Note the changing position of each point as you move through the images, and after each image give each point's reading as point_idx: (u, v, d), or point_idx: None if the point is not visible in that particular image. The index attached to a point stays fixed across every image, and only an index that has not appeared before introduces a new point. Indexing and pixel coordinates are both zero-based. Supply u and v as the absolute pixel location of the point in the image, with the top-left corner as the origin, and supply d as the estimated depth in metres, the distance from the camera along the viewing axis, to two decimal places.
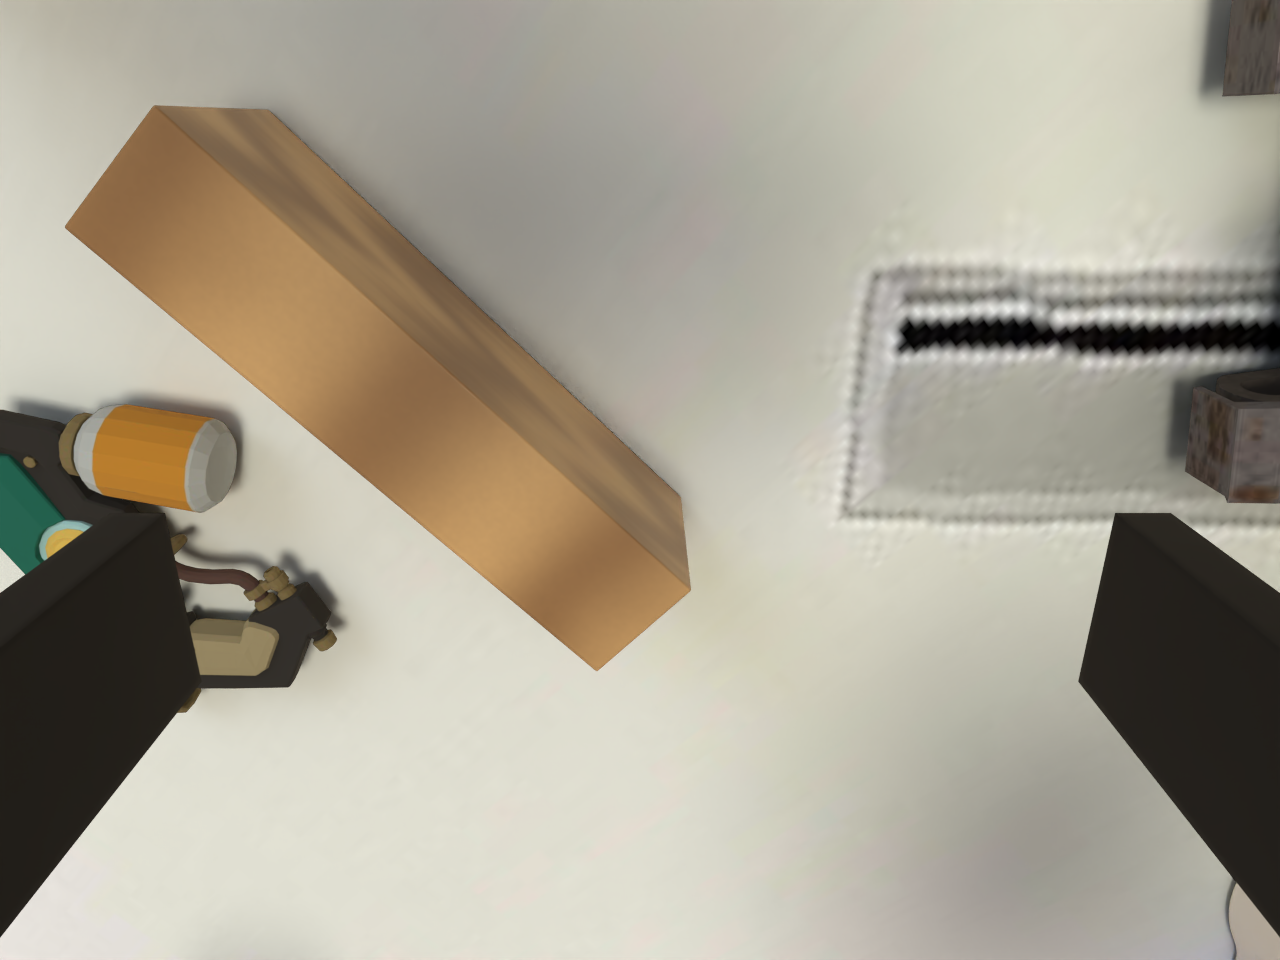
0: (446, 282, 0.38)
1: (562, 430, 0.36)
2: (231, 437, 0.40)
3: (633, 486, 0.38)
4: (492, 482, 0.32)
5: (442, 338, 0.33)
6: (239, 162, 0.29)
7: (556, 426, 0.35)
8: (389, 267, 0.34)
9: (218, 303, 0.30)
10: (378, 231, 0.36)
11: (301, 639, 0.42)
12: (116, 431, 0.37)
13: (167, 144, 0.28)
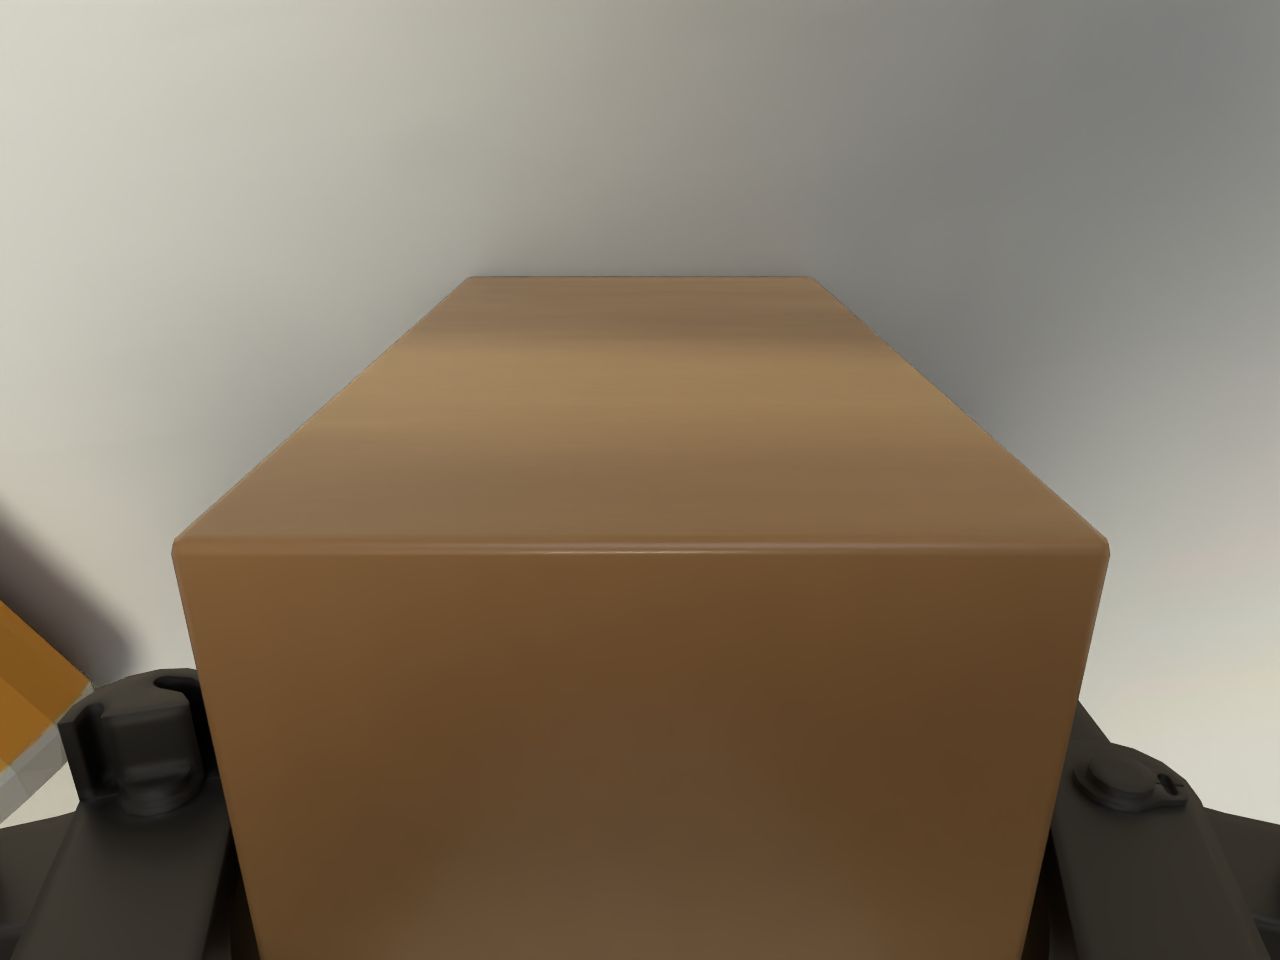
0: None
1: None
2: None
3: None
4: None
5: None
6: None
7: None
8: None
9: None
10: None
11: None
12: None
13: (972, 691, 0.05)
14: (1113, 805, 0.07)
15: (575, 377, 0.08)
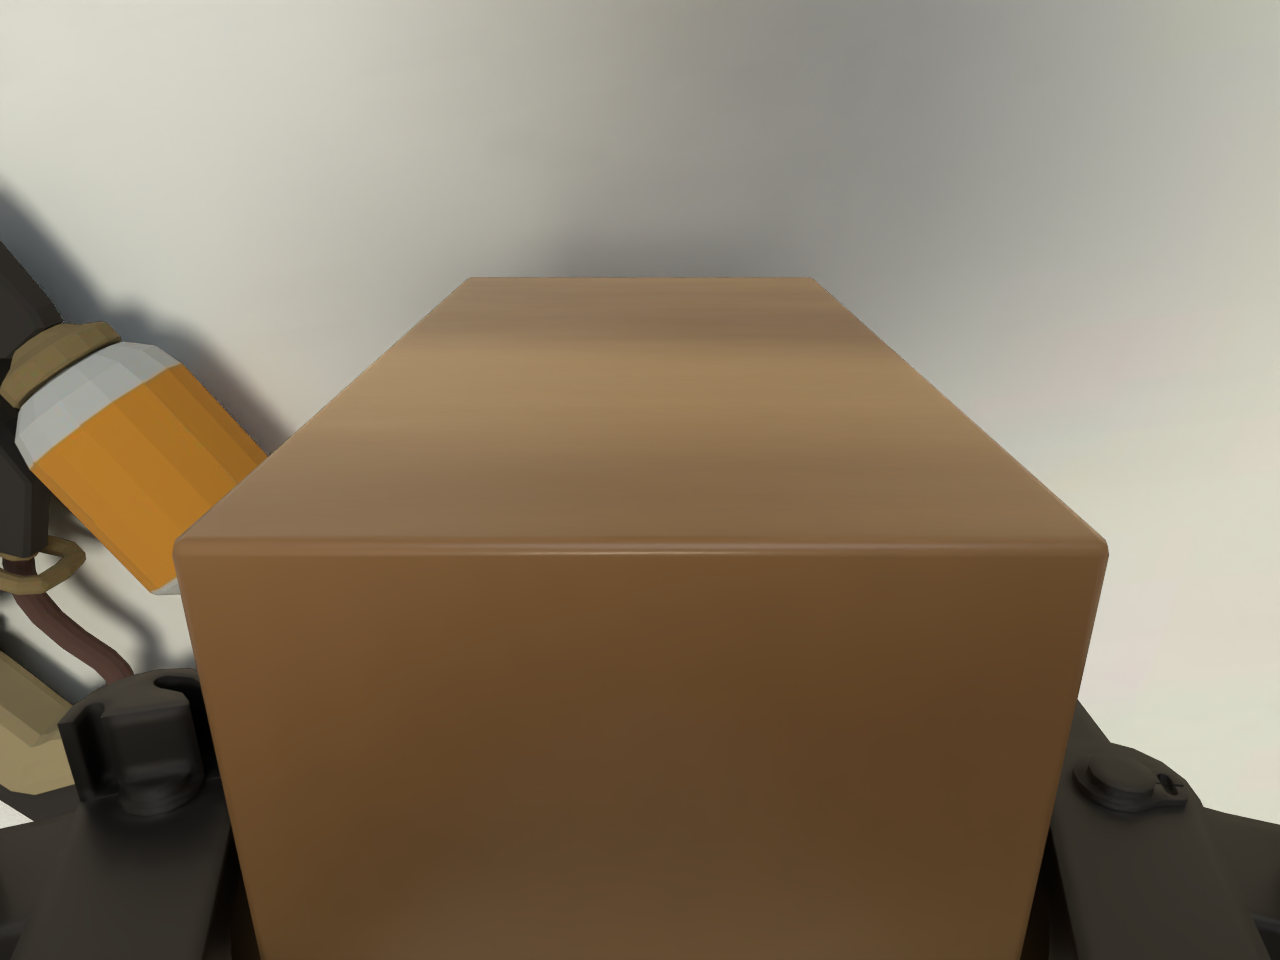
0: None
1: None
2: None
3: None
4: None
5: None
6: None
7: None
8: None
9: None
10: None
11: None
12: (145, 420, 0.20)
13: (969, 690, 0.05)
14: (1112, 803, 0.07)
15: (574, 379, 0.08)
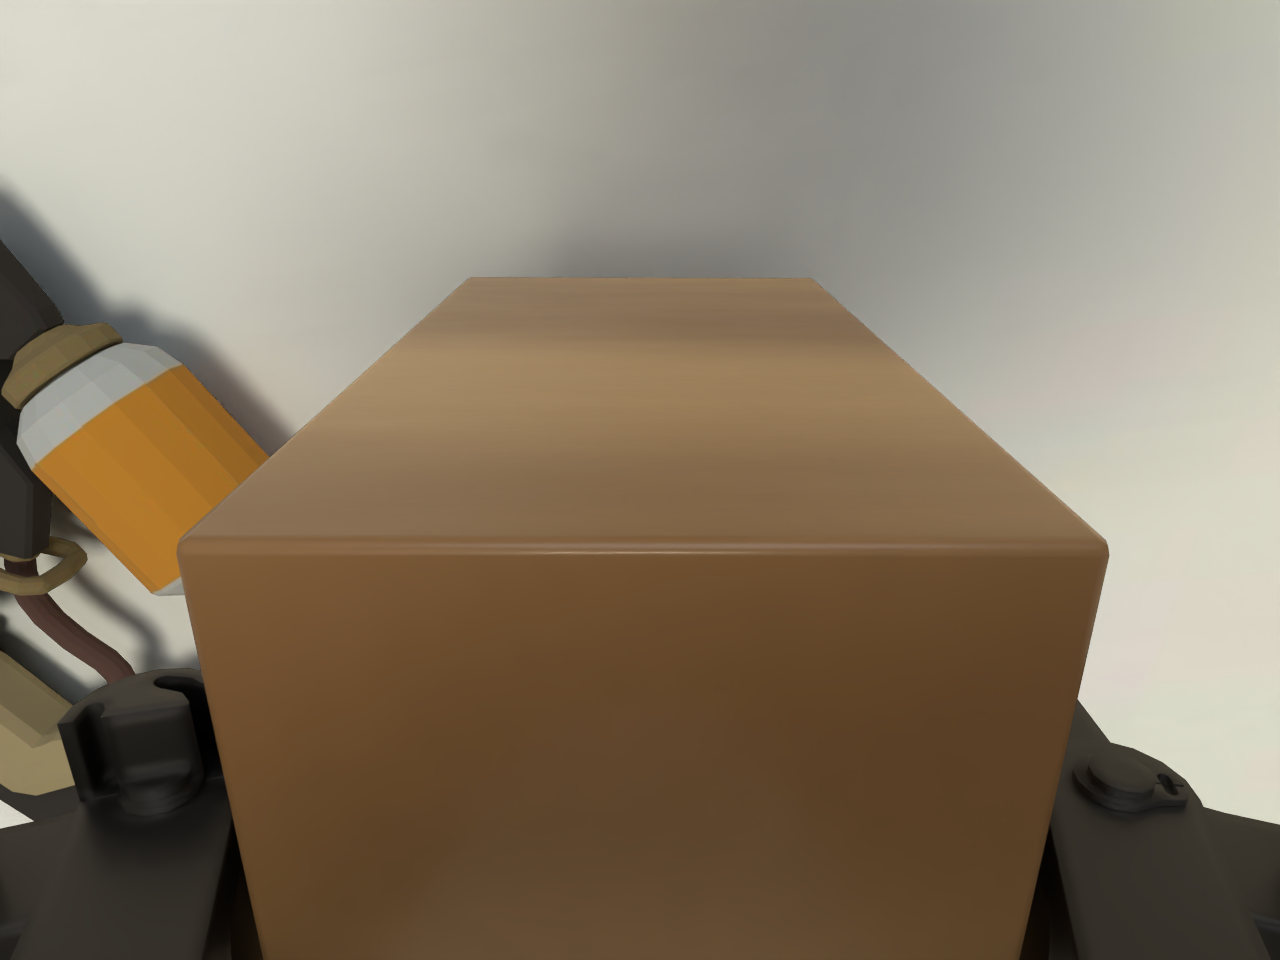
0: None
1: None
2: None
3: None
4: None
5: None
6: None
7: None
8: None
9: None
10: None
11: None
12: (146, 421, 0.20)
13: (971, 691, 0.05)
14: (1113, 805, 0.07)
15: (575, 380, 0.08)
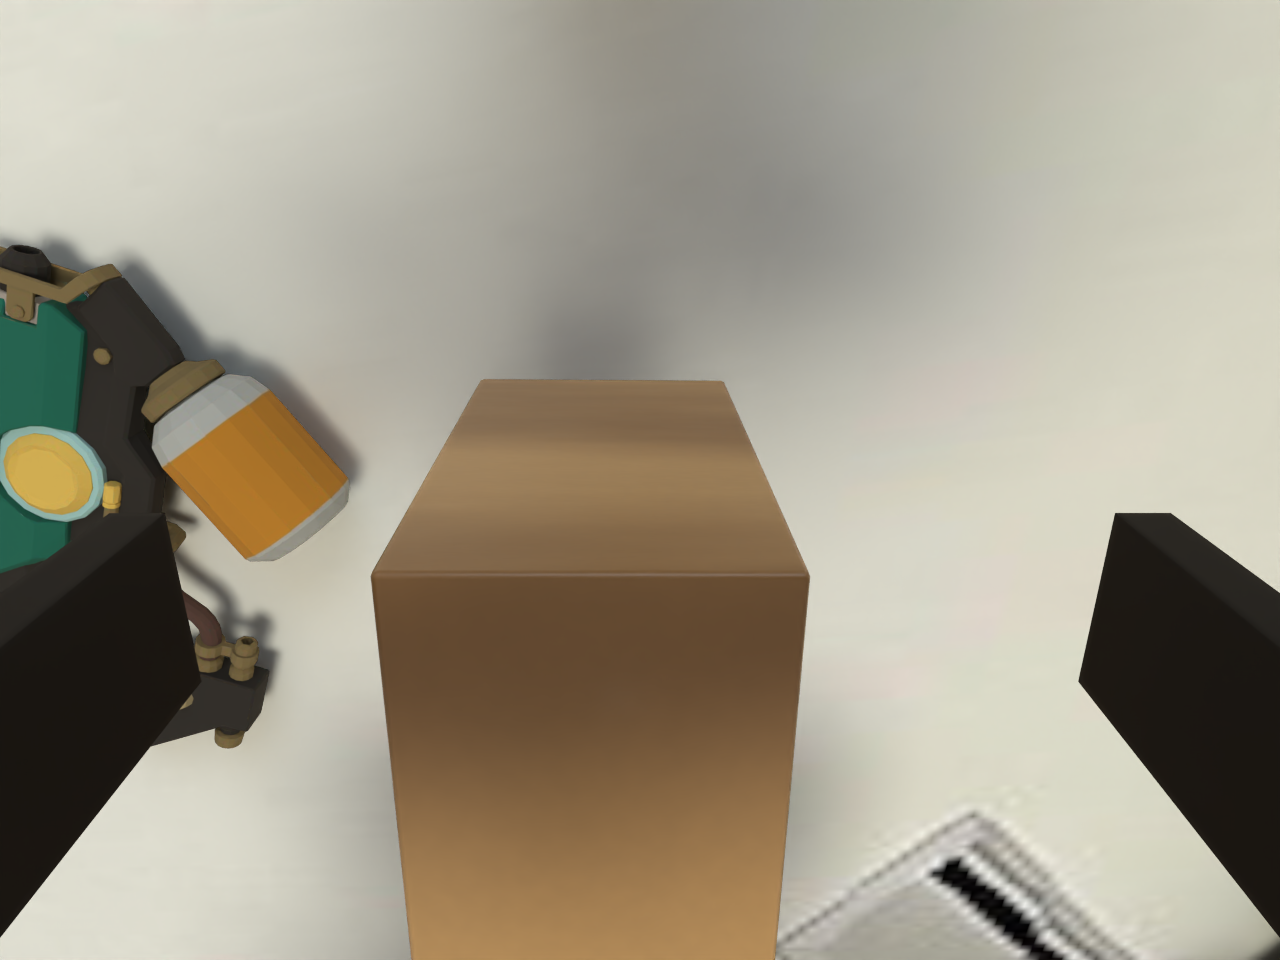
0: None
1: None
2: None
3: None
4: None
5: None
6: None
7: None
8: None
9: (517, 899, 0.12)
10: None
11: (211, 725, 0.33)
12: (249, 432, 0.28)
13: (750, 644, 0.11)
14: None
15: (558, 473, 0.14)
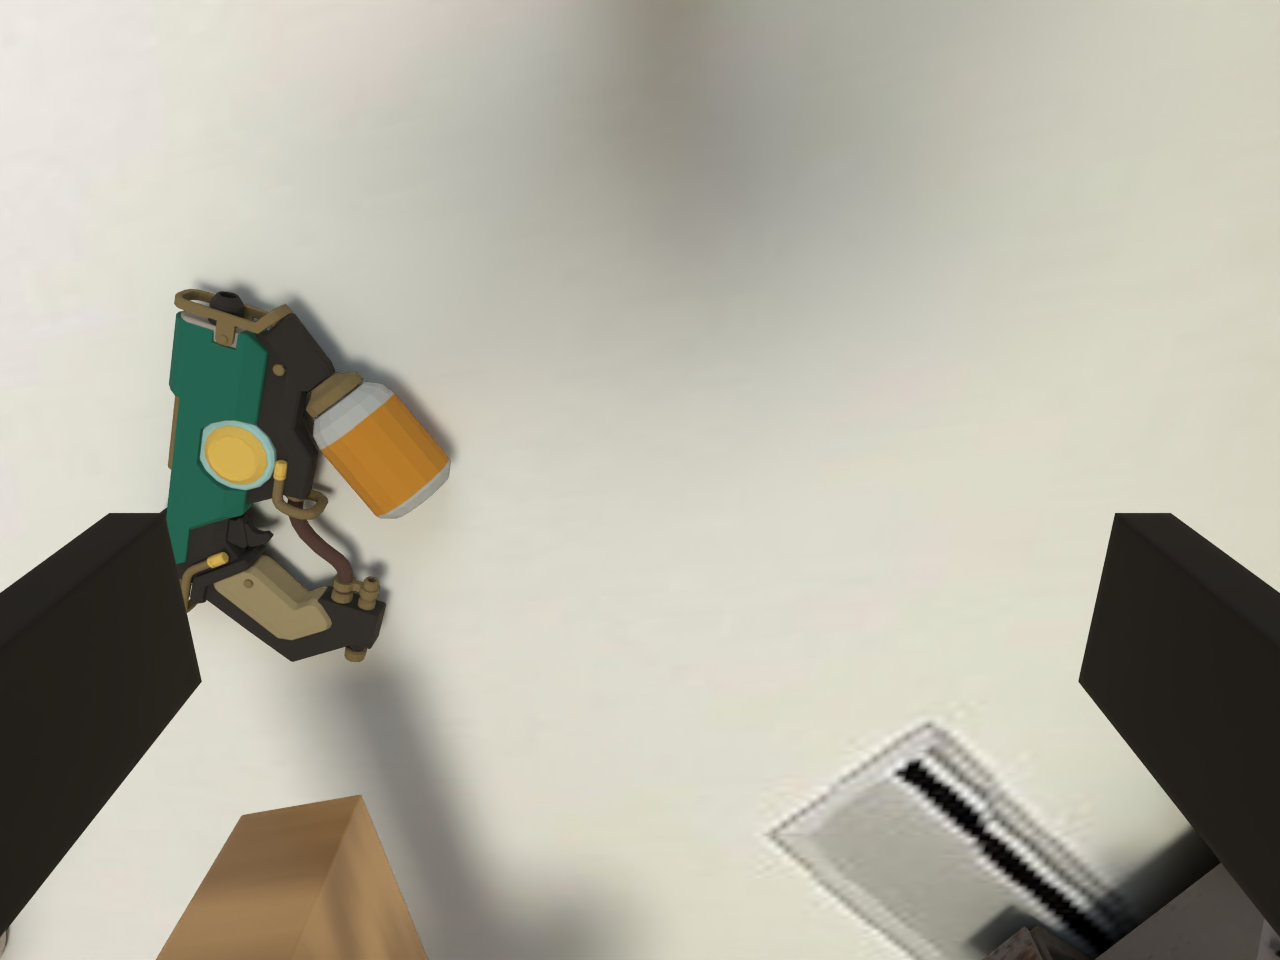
0: None
1: None
2: None
3: None
4: None
5: None
6: None
7: None
8: None
9: None
10: (396, 951, 0.37)
11: (343, 643, 0.44)
12: (384, 424, 0.38)
13: None
14: None
15: (225, 922, 0.31)
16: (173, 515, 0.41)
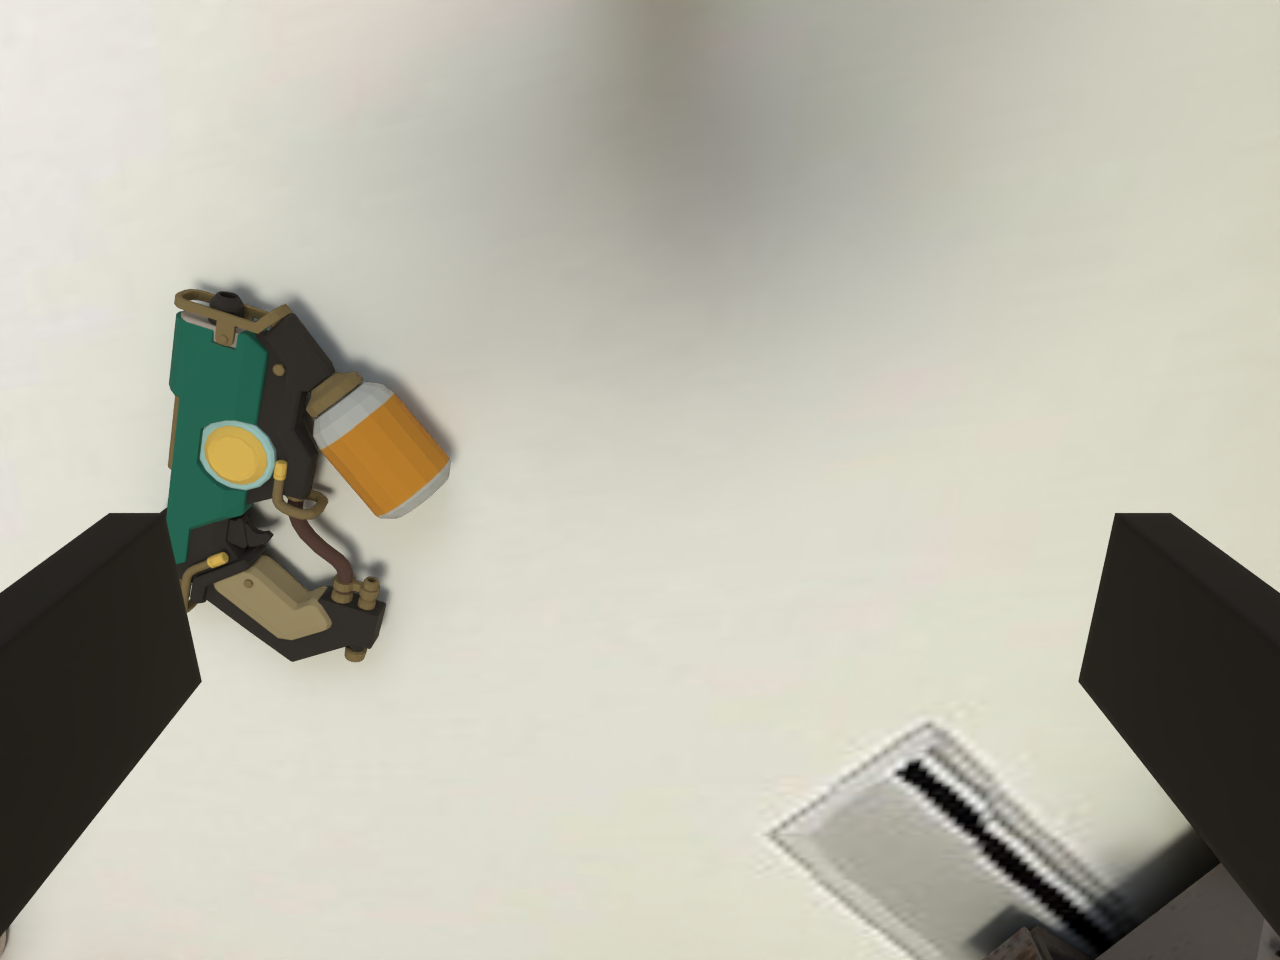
0: None
1: None
2: None
3: None
4: None
5: None
6: None
7: None
8: None
9: None
10: None
11: (343, 643, 0.44)
12: (384, 424, 0.38)
13: None
14: None
15: None
16: (173, 515, 0.41)
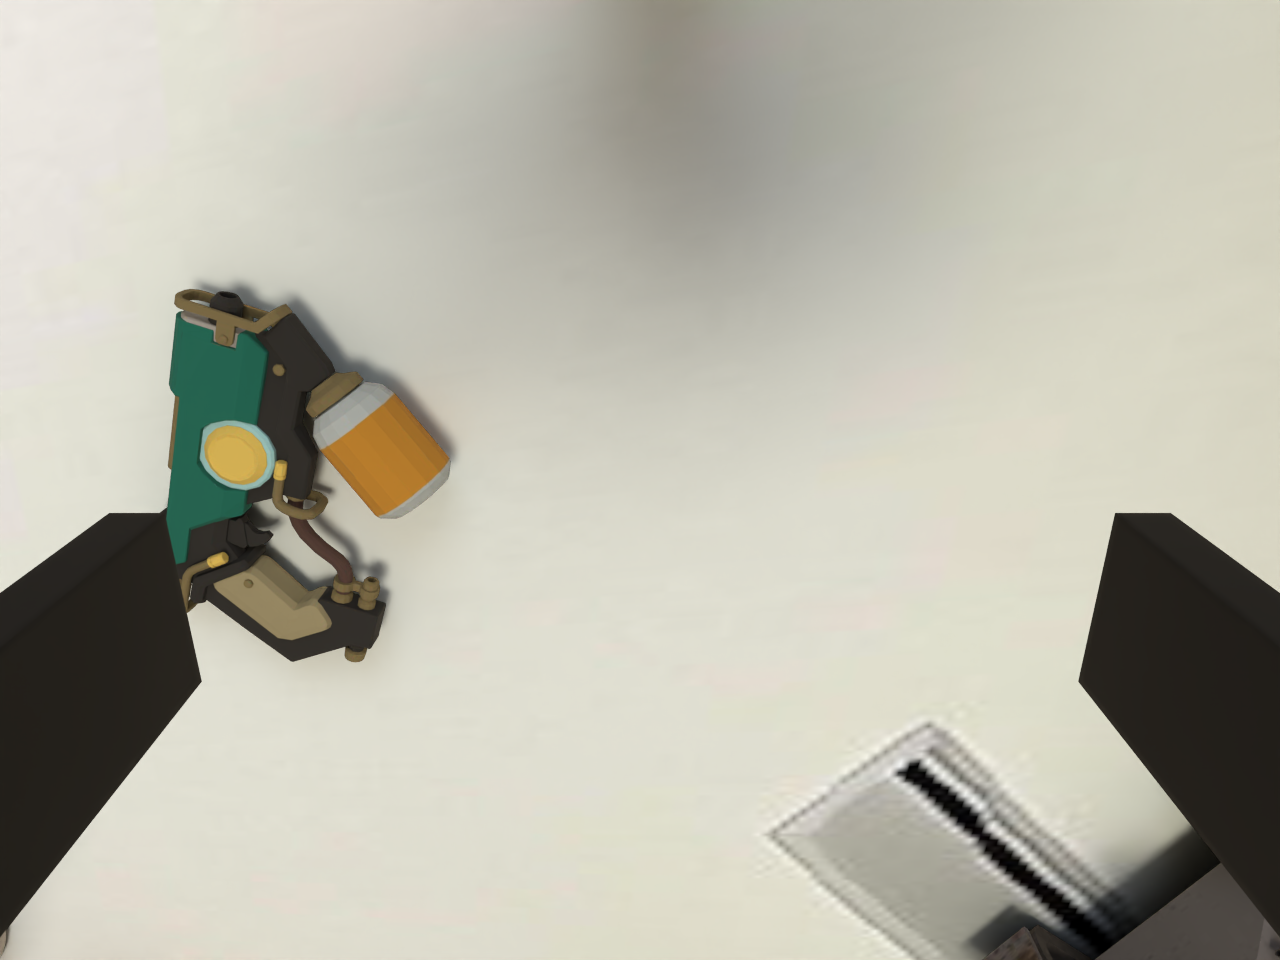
0: None
1: None
2: None
3: None
4: None
5: None
6: None
7: None
8: None
9: None
10: None
11: (343, 643, 0.44)
12: (384, 424, 0.38)
13: None
14: None
15: None
16: (173, 515, 0.41)
